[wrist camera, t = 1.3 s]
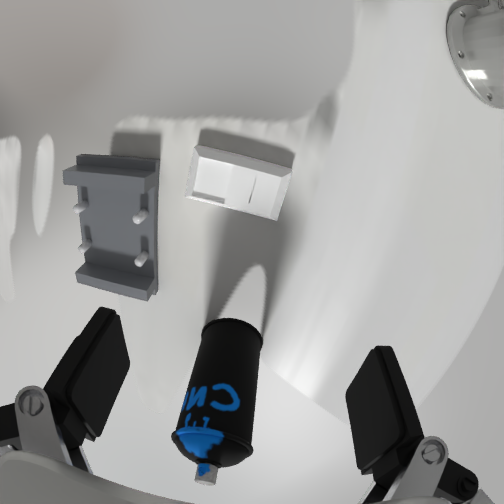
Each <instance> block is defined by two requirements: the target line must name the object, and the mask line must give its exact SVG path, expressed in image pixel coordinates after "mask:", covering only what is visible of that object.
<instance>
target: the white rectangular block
mask: <svg viewBox="0 0 504 504" xmlns="http://www.w3.org/2000/svg"><path fill="white" fill-rule="evenodd" d="M291 175H292V169H291V168H288V167H284V166H281V165H277V164H274V163H270V162H267V161H263V160H259V159H255V158H252V157H248V156H244V155H240V154H236V153H232V152H228V151H223V150H219V149H215V148H210V147H206V146H201V145H197V146H195V147H194V151H193V156H192V161H191V166H190V171H189V176H188V181H187V187H186V193H185V197H186V198H190V199H194V200H199V201H203V202H207V203H211V204H215V205H218V206H222V207H226V208H230V209H234V210H238V211H242V212H245V213H249V214H253V215H257V216H260V217H264V218H268V219H271V220H275V221H277V219H278V216H279V213H280V210H281V207H282V204H283V201H284V197H285V194H286V191H287V188H288V185H289V181H290V178H291Z"/></svg>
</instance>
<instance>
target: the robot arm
mask: <svg viewBox="0 0 504 504" xmlns="http://www.w3.org/2000/svg"><path fill="white" fill-rule="evenodd" d="M488 2H489V5H488V6H487V7H483V8H482V7H479V6H476V5H463V6H461V7H458V8H456V9H455V10H454V11H453V12H452V13H451V15H450V17H449V20H448V23H447V38H448V45H449V49H450V53H451V55H452V58H453V61H454V63H455V65H456V68H457V70H458V72H459V74H460V75H461V77H462V78H463V80H464V82H465V83H466V85H467V86H468V87H469V88H470V90H471V91H472V92H473V93H474V94H475V95H476V96H477V97H478V98H479V99H480V100H481V101H483V102H484V103H485V104H487V105H489V106H491V107H495V108H499V109H504V0H500V2H501V9H502V10H501V9H500V8H499V0H488ZM129 367H130V360H129V356H128V352H127V347H126V343H125V339H124V334H123V330H122V325H121V320H120V316H119V315H117V314H116V311H115V310H112V309H109V308H105V307H99V308H98V310H97V311H96V312H95V314H94V315H93V317H92V318H91V320H90V321H89V322H88V324H87V325H86V327H85V328H84V330H83V331H82V333H81V334H80V335H79V336H77V337H76V338H75V339H74V341H73V342H72V344H71V345H70V347H69V348H68V350H67V351H66V353H65V354H64V356H63V357H62V359H61V360H60V362H59V364H58V365H57V367H56V369H55V370H54V372H53V373H52V375H51V377H50V378H49V380H48V381H47V383H46V385H45V387H44V388H43V389H41V388H40V387H38V386H27V387H25V388H23V389H22V390H20V391H19V393H18V394H17V396H16V398H15V403H12V404H9V405H5V406H1V407H0V504H193V503H188V502H183V501H178V500H173V499H169V498H165V497H161V496H156V495H153V494H149V493H145V492H142V491H139V490H135V489H132V488H129V487H126V486H123V485H120V484H117V483H114V482H112V481H109V480H106V479H103V478H101V477H98V476H95V475H93V472H92V470H91V468H90V466H89V463H88V461H87V458H86V456H85V453H84V450H83V448H82V444H83V441H84V439H85V438H86V439H88V440H91V441H93V442H94V441H95V438H96V437H99V436H100V435H101V434H102V431H103V429H104V426H105V424H106V421H107V419H108V416H109V414H110V412H111V409H112V407H113V404H114V402H115V400H116V397H117V395H118V393H119V390H120V388H121V386H122V384H123V381H124V379H125V377H126V375H127V372H128V370H129ZM346 403H347V408H348V414H349V419H350V425H351V431H352V437H353V443H354V449H355V456H356V463H357V467H358V469H360V470H361V474H362V475H366V474H373V478H374V481H373V482H372V484H371V485H370V487H369V488H368V490H367V491H366V493H365V494H364V496H363V497H362V498H361V500H360V501H359V503H358V504H494V503H493V502H492V501H491V499H490V498H489V497H488V496H487V495H486V494H485V493H484V492H483V490H482V489H479V490H478V479H477V477H476V475H475V474H474V473H473V472H472V471H470V470H468V469H466V468H465V467H463V466H461V465H460V464H458V463H456V462H454V461H453V460H451V459H450V458H448V448H447V445H446V444H445V442H444V441H443V440H442V439H440V438H439V437H435V436H429V437H425V438H424V435H423V431H422V428H421V425H420V422H419V419H418V415H417V413H416V409H415V406H414V404H413V401H412V398H411V395H410V392H409V389H408V387H407V384H406V381H405V379H404V376H403V373H402V371H401V368H400V366H399V363H398V361H397V358H396V356H395V353H394V351H393V349H392V347H391V346H376V347H375V348H374V349H372V350H371V351H370V352H369V354H368V356H367V357H366V359H365V361H364V363H363V364H362V366H361V368H360V369H359V371H358V373H357V374H356V376H355V378H354V379H353V381H352V383H351V384H350V386H349V387H348V389H347V391H346Z"/></svg>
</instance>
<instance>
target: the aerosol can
mask: <svg viewBox="0 0 504 504" xmlns="http://www.w3.org/2000/svg"><path fill="white" fill-rule="evenodd" d="M201 339H202V340H201V344H200V347H199V351H198V354H197V357H196V361H195V364H194V367H193V371H192V374H191V378H190V381H189V385H188V388H187V392H186V395H185V399H184V402H183V406H182V409H181V413H180V416H179V420H178V424H177V427H176V431H174V432H173V433H172V435H171V438H172V440H173V442H174V443H175V444H176V446H177V448H178V449H179V451H180V452H181V453H182V454H183V455H184V456H185V457H187V458H188V459H189V460H192V461H193V462H195V463H196V464H198V467H197V472H196V476H195V482H197V483H200V484H203V485H215V483H216V478H217V472H218V468H221V467H229V466H233V465H236V464H238V463H240V462H241V461H243V460H244V459H245V458H247V457H249V456H250V455H251V454H252V453H253V447H252V445H251V442H252V432H253V422H254V411H255V402H256V390H257V380H258V369H259V358H260V351H261V348H262V345H263V340H262V337H261V334H260V333H259V331H258V330H257V329H256V328H255V327H253V326H252V325H251V324H249V323H247V322H245V321H242V320H238V319H233V318H221V319H217V320H214V321H212V322H210V323H208V324H207V325H206V326H205V327H204V329H203V330H202V334H201Z"/></svg>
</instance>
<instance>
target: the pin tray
mask: <svg viewBox="0 0 504 504" xmlns="http://www.w3.org/2000/svg"><path fill="white" fill-rule="evenodd" d="M76 157H77V165H75V166H73V167H70V168H68V169H66V170H63V183H64V184H65V185H75V186H77V189H78V204H76V205H75V206H74V207H73V210H74V212H75V213H76V214H80V215H79V216H80V224H81V233H82V241H83V243H82V244H81V245H80V246H79V247H78V250H79V252H80V253H84V256H85V263H84V264H83V265H82V266H81V267H80V268H79V269H78V270H77V271H76V273H75V274H76V278H77V282H78V283H81V284H85V285H89V286H92V287H95V288H98V289H102V290H106V291H109V292H113V293H117V294H120V295H124V296H128V297H132V298H136V299H140V300H144V301H148V300H149V298H150V296H151V295H152V294H153V295H156V293H157V292H158V270H157V210H158V183H159V166H160V160H158V159H148V158H137V157H124V156H109V155H90V154H81V155H78V156H76Z"/></svg>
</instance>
